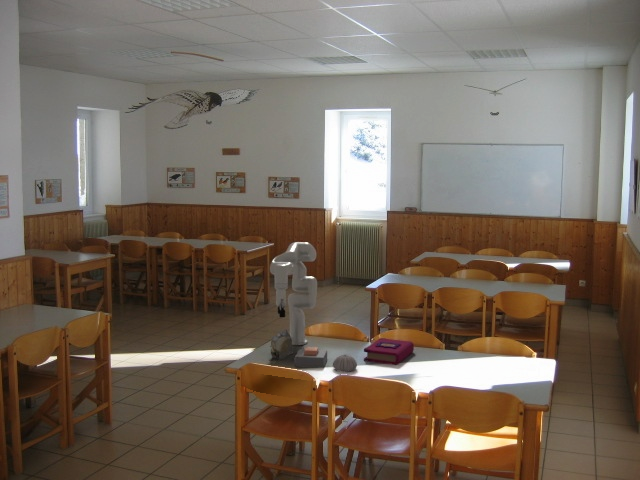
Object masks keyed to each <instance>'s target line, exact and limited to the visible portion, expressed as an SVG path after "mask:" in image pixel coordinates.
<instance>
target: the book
mask: <svg viewBox="0 0 640 480" xmlns="http://www.w3.org/2000/svg"><path fill="white" fill-rule="evenodd" d="M414 350H415V349H414V342H412V340H411V341H410V340H403V339H402V340H400V339H393V338H386V337H384V338H383V337H382V338H381V337H379V338H378V339H377V340H375V341H374V342H373V343H371V344H370V345H368V346H367V347H365V348H363V352H364V353H366V357H363V361H364V362H370V363H379V364H386V365H392V366H393V365H395V366H396V365H397V366H398V364H400V363H401V362H402V361H404V359H406V358H407V357H408V356H409V355H412V353H413V352H414Z"/></svg>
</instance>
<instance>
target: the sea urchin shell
mask: <svg viewBox="0 0 640 480" xmlns="http://www.w3.org/2000/svg"><path fill="white" fill-rule="evenodd" d="M357 366H358V363H357V361H356V359H355V358H354V356H352V355H349V354H341V355H339V356H338V357H336V358H335V359H334V361H333V362H332V368H333V369H334V370H336V371H338V372H343V373H344V372H346V373H347V372H352V371H355V369H357Z"/></svg>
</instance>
